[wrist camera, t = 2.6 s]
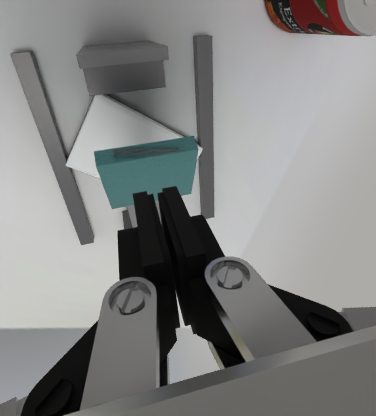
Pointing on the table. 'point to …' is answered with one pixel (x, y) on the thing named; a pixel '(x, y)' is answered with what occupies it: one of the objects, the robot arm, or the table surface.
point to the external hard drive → (113, 132)
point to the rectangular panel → (146, 170)
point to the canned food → (324, 16)
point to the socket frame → (115, 83)
